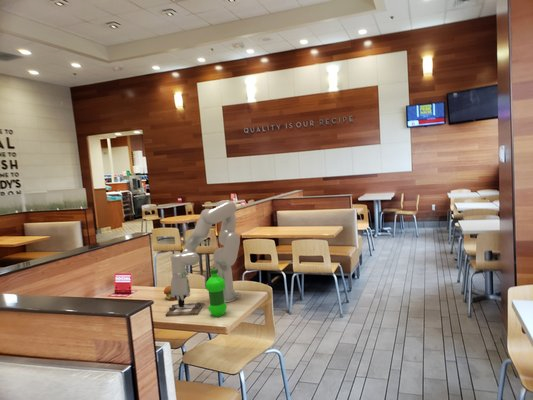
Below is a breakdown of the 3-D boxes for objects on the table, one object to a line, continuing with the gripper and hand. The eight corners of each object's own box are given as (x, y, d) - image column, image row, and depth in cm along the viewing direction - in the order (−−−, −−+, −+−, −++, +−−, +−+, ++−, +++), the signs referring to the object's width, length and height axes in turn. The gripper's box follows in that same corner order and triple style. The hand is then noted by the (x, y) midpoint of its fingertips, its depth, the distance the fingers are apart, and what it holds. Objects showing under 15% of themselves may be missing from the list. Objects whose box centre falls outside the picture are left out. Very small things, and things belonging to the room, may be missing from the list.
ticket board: (204, 304, 230) (203, 299, 229) (197, 314, 214) (196, 308, 214) (174, 306, 231) (174, 300, 231) (165, 316, 215) (164, 310, 215)
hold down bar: (198, 306, 223) (198, 305, 223) (197, 308, 221) (197, 306, 221) (173, 306, 224) (173, 305, 224) (171, 308, 222) (171, 307, 222)
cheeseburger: (179, 300, 241) (174, 285, 240) (164, 305, 243) (159, 290, 242) (185, 294, 251) (180, 280, 250) (171, 299, 253) (166, 284, 252)
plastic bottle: (207, 318, 207) (202, 272, 205) (211, 311, 217) (206, 267, 215) (226, 317, 206) (221, 271, 204) (228, 310, 217) (224, 266, 215)
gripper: (193, 272, 224) (196, 304, 225) (168, 273, 225) (171, 304, 226) (190, 276, 216) (192, 308, 218) (164, 277, 218) (166, 309, 219)
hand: (181, 306), depth 222 cm, fingers closed
